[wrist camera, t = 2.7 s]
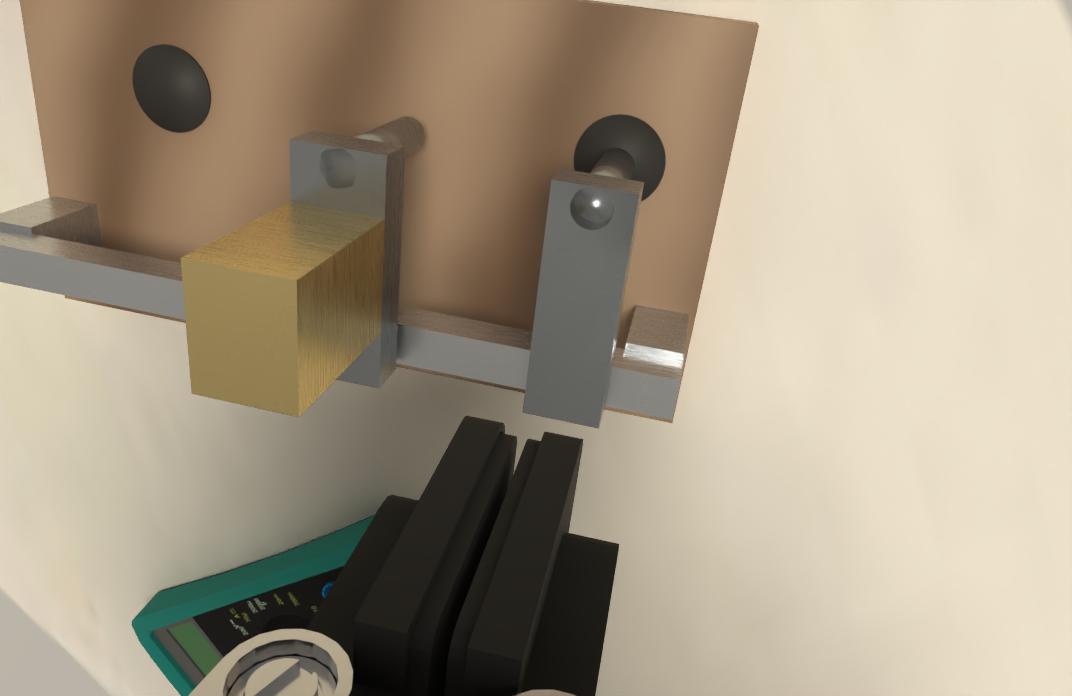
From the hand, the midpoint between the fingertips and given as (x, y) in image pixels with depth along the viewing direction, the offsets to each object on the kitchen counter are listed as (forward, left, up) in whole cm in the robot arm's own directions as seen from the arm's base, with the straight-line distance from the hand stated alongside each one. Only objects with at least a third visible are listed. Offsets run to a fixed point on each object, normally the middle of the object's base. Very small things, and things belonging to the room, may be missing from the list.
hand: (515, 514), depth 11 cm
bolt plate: (+9, 0, -16) cm, 18 cm away
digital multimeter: (+11, +20, -16) cm, 28 cm away
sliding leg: (+7, 0, -13) cm, 15 cm away
